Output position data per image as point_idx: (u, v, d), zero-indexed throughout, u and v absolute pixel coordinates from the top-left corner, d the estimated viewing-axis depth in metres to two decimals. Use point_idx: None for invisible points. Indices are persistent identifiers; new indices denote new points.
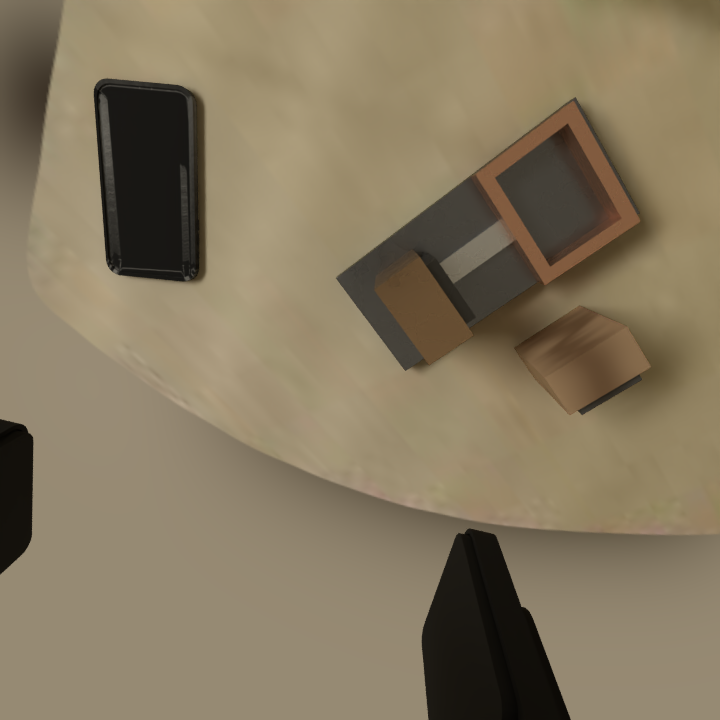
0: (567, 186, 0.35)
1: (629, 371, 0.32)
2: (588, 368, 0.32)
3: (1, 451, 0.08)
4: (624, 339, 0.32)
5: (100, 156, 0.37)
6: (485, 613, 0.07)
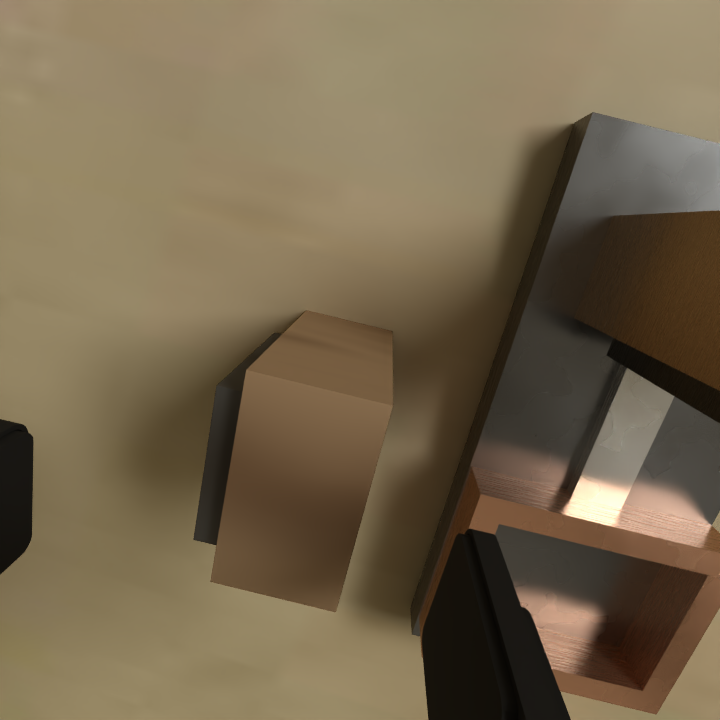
0: (543, 602, 0.20)
1: (237, 546, 0.12)
2: (322, 495, 0.12)
3: (1, 451, 0.08)
4: (315, 590, 0.12)
5: None
6: (485, 613, 0.07)
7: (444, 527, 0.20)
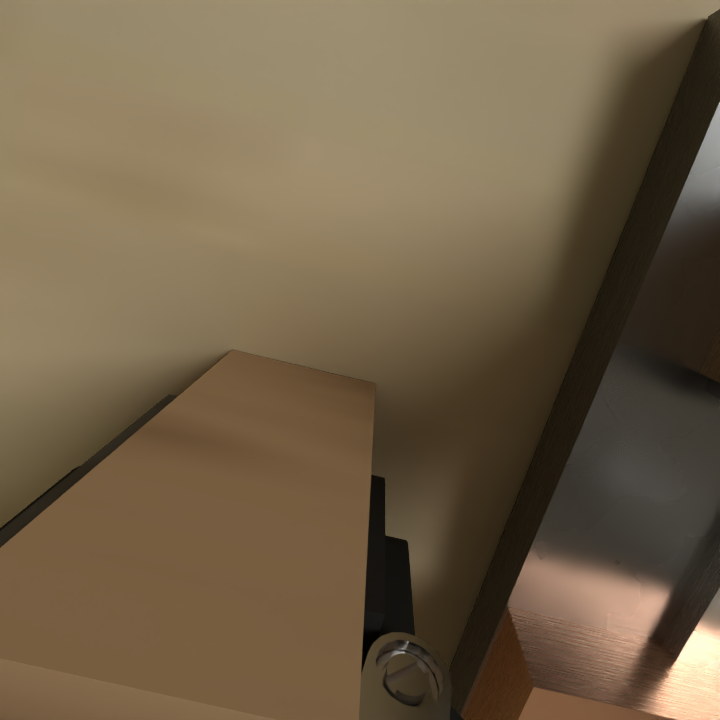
0: None
1: None
2: None
3: None
4: None
5: None
6: None
7: (461, 685, 0.13)
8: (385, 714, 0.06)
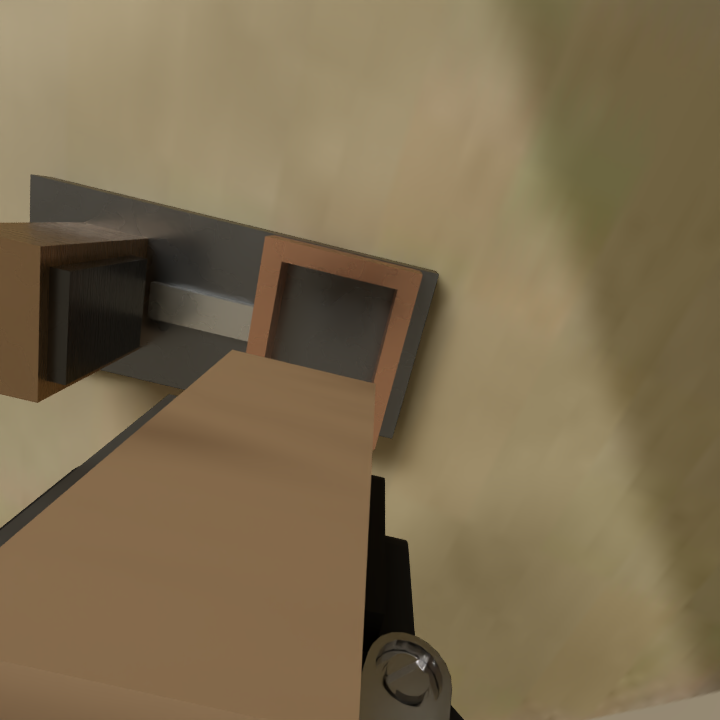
0: (355, 347, 0.26)
1: None
2: None
3: None
4: None
5: None
6: None
7: None
8: (385, 714, 0.06)
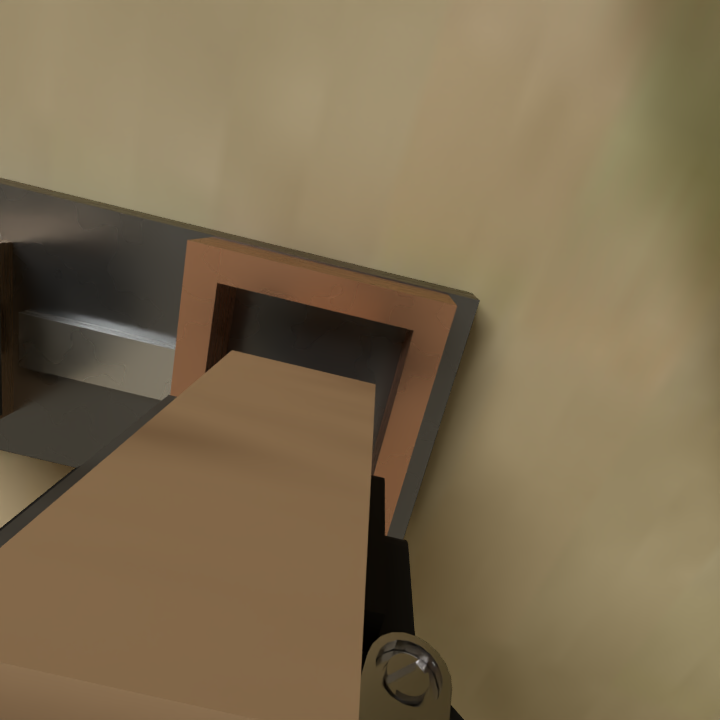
0: None
1: None
2: None
3: None
4: None
5: None
6: None
7: None
8: (385, 714, 0.06)
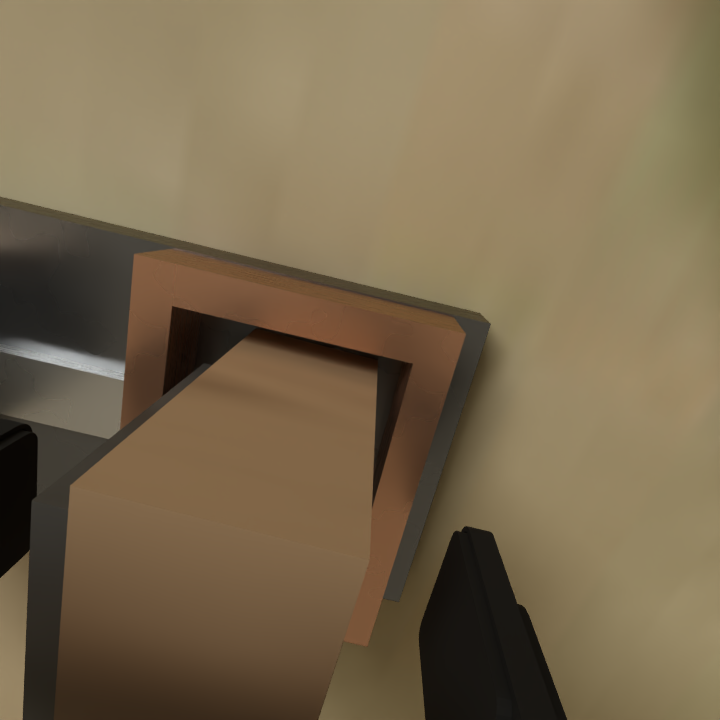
0: None
1: None
2: (235, 705, 0.06)
3: (6, 450, 0.08)
4: None
5: None
6: (481, 610, 0.07)
7: None
8: None
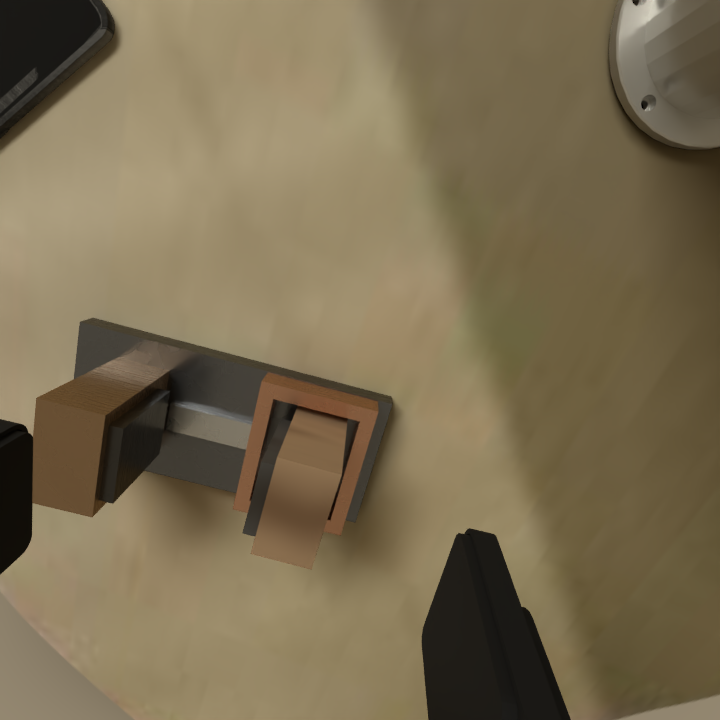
0: None
1: (266, 536, 0.26)
2: (308, 513, 0.25)
3: (1, 451, 0.08)
4: (301, 558, 0.26)
5: None
6: (485, 613, 0.07)
7: None
8: None
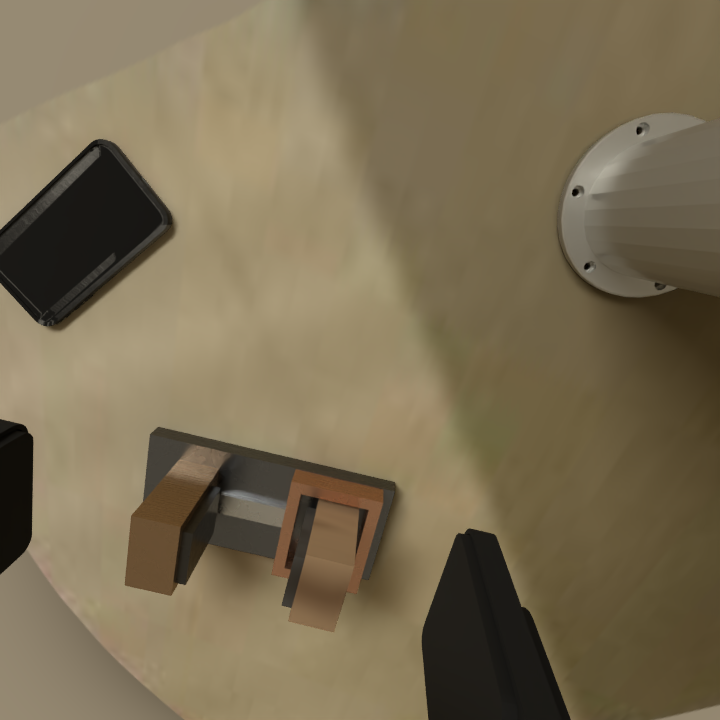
0: None
1: (299, 609, 0.34)
2: (330, 593, 0.34)
3: (1, 451, 0.08)
4: (326, 624, 0.35)
5: (53, 182, 0.34)
6: (485, 613, 0.07)
7: None
8: None
